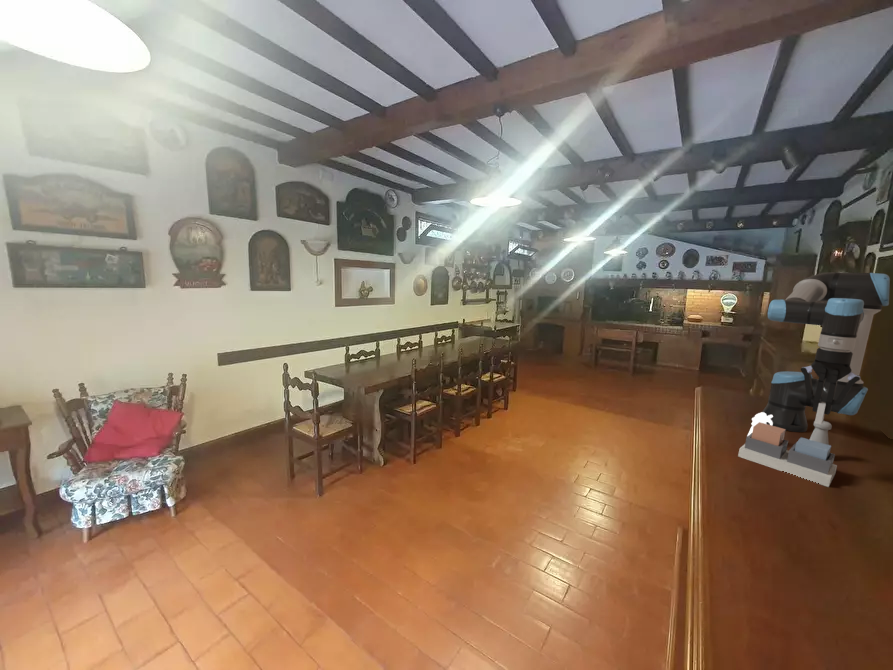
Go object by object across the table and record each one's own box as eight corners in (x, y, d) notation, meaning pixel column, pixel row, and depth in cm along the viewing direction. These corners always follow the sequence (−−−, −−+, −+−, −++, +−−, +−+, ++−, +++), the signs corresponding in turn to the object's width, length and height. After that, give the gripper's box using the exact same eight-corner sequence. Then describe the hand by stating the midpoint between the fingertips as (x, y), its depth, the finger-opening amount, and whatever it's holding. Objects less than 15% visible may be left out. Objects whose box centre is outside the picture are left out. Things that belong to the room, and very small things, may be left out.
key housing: (749, 446, 134) (752, 428, 132) (835, 473, 116) (840, 453, 115) (738, 456, 126) (741, 437, 125) (828, 487, 109) (833, 465, 107)
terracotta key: (756, 435, 129) (759, 422, 128) (782, 443, 124) (785, 429, 123) (750, 440, 125) (753, 426, 124) (777, 448, 120) (780, 434, 119)
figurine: (752, 437, 142) (757, 408, 140) (774, 445, 136) (780, 414, 134) (742, 440, 139) (747, 410, 137) (764, 448, 133) (770, 417, 131)
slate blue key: (797, 451, 121) (801, 437, 120) (827, 460, 115) (831, 445, 115) (793, 457, 117) (796, 442, 116) (824, 466, 111) (827, 451, 110)
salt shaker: (832, 461, 125) (840, 425, 122) (812, 459, 126) (820, 423, 124) (818, 453, 130) (826, 419, 128) (800, 451, 131) (807, 417, 129)
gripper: (802, 346, 113) (788, 418, 117) (865, 355, 103) (847, 433, 107) (807, 344, 117) (793, 413, 122) (868, 352, 107) (850, 427, 111)
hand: (818, 422), depth 114 cm, fingers closed
